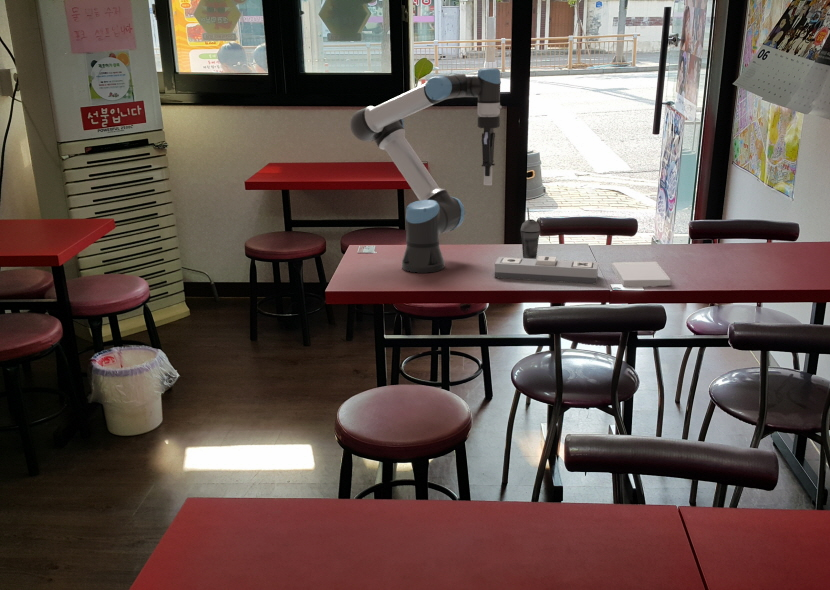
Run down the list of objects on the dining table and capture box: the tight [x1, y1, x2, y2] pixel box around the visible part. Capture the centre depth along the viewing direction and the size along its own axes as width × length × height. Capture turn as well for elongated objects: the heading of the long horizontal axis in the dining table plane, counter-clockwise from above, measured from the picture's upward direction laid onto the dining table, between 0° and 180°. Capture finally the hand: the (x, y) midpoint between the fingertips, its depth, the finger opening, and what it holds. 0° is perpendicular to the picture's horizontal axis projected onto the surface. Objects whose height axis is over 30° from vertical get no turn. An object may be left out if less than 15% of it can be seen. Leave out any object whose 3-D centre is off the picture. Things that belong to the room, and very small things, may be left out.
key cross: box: [573, 261, 592, 268], centre depth 272 cm, size 6×6×3 cm
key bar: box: [536, 255, 557, 266], centre depth 274 cm, size 6×6×3 cm
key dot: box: [501, 257, 521, 264], centre depth 278 cm, size 6×6×3 cm
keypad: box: [493, 256, 599, 284], centre depth 275 cm, size 34×9×5 cm, turn 75°
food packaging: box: [611, 261, 672, 288], centre depth 273 cm, size 15×3×20 cm
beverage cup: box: [519, 207, 542, 259], centre depth 292 cm, size 7×7×20 cm
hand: (487, 184), depth 281 cm, fingers closed
